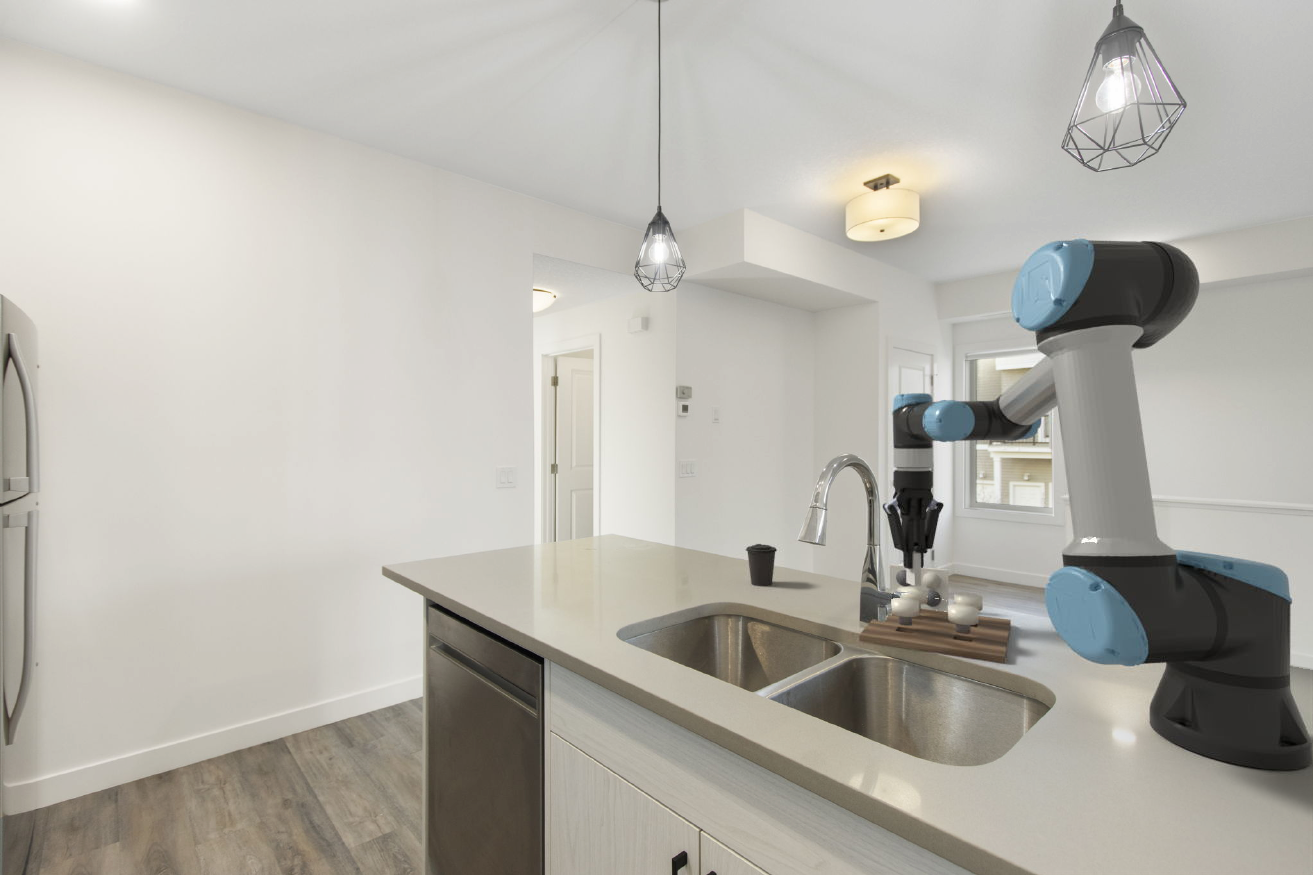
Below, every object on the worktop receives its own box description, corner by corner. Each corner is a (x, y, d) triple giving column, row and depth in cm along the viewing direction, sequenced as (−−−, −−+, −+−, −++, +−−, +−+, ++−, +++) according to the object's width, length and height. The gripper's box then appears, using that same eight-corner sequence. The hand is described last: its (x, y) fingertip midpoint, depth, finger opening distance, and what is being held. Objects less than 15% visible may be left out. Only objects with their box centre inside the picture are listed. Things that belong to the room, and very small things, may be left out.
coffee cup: (760, 578, 170) (759, 541, 170) (783, 583, 164) (783, 545, 164) (739, 583, 165) (738, 545, 165) (763, 589, 159) (762, 549, 159)
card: (947, 612, 137) (947, 570, 137) (889, 605, 143) (889, 565, 143) (950, 607, 140) (949, 567, 140) (893, 600, 146) (893, 561, 146)
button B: (917, 629, 118) (917, 605, 118) (889, 625, 120) (888, 602, 120) (921, 622, 122) (921, 599, 122) (894, 618, 124) (894, 596, 124)
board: (1005, 663, 106) (1005, 656, 106) (859, 640, 119) (859, 634, 119) (1010, 625, 127) (1010, 619, 127) (885, 609, 139) (885, 604, 139)
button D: (925, 615, 126) (925, 593, 126) (899, 612, 129) (898, 590, 129) (929, 609, 130) (929, 588, 130) (903, 606, 133) (903, 585, 133)
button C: (981, 622, 121) (981, 600, 121) (953, 619, 124) (952, 596, 124) (983, 616, 125) (983, 594, 125) (955, 612, 128) (955, 591, 128)
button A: (977, 637, 112) (977, 613, 112) (946, 633, 115) (946, 609, 115) (979, 630, 117) (979, 606, 117) (949, 626, 119) (949, 602, 119)
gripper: (928, 467, 135) (929, 577, 135) (874, 468, 132) (874, 581, 132) (953, 469, 127) (953, 586, 128) (896, 471, 124) (896, 590, 125)
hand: (913, 583), depth 130 cm, fingers closed
